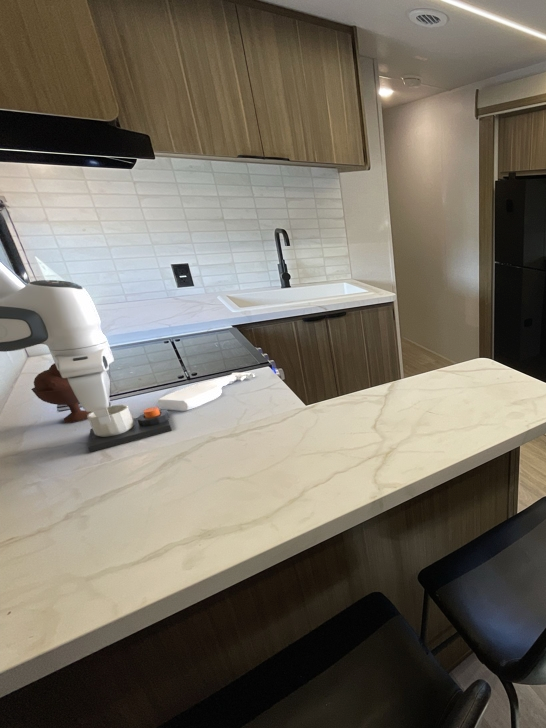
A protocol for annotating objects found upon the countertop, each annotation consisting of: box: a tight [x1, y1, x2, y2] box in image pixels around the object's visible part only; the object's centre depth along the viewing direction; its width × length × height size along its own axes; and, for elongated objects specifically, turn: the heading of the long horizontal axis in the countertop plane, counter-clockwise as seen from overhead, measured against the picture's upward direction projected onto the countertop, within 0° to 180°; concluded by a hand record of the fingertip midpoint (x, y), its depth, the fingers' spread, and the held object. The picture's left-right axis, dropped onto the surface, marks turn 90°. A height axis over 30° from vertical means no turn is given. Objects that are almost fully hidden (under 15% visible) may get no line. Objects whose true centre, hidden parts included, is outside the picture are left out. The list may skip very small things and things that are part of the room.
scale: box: [87, 409, 172, 453], centre depth 94 cm, size 14×11×3 cm
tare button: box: [142, 406, 160, 418], centre depth 96 cm, size 3×3×2 cm
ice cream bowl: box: [31, 362, 92, 424], centre depth 100 cm, size 11×11×15 cm
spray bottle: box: [157, 372, 256, 412], centre depth 116 cm, size 3×11×24 cm
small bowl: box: [87, 404, 135, 437], centre depth 92 cm, size 7×7×5 cm
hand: (106, 415), depth 91 cm, fingers open, 8 cm apart
